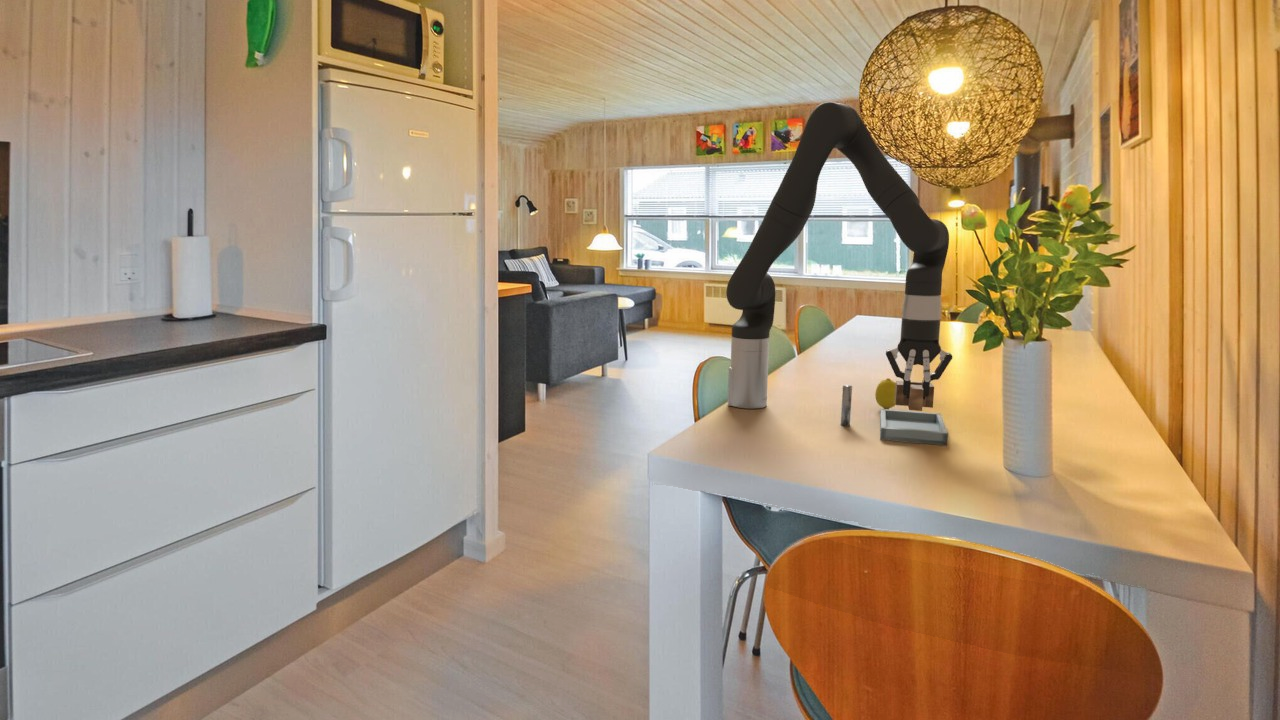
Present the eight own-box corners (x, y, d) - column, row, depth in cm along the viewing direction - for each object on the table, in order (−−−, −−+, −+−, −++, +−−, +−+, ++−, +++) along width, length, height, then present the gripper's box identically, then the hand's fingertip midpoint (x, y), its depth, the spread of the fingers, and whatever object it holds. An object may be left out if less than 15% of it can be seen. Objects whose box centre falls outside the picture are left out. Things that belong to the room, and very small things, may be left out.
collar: (896, 409, 154) (897, 387, 153) (894, 400, 167) (895, 380, 166) (935, 411, 152) (936, 390, 151) (930, 402, 164) (931, 382, 164)
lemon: (895, 408, 183) (897, 376, 182) (900, 413, 178) (902, 380, 176) (872, 407, 184) (874, 375, 182) (877, 412, 178) (879, 380, 177)
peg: (840, 425, 166) (842, 386, 164) (840, 423, 168) (843, 384, 166) (849, 426, 165) (852, 387, 164) (850, 424, 167) (852, 385, 166)
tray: (880, 439, 155) (881, 428, 154) (879, 419, 172) (880, 408, 171) (947, 445, 151) (948, 433, 151) (939, 424, 168) (940, 413, 168)
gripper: (886, 317, 152) (880, 399, 155) (959, 319, 148) (952, 404, 151) (885, 313, 159) (880, 392, 162) (955, 316, 155) (949, 396, 158)
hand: (915, 397), depth 156 cm, fingers closed on collar, 2 cm apart
